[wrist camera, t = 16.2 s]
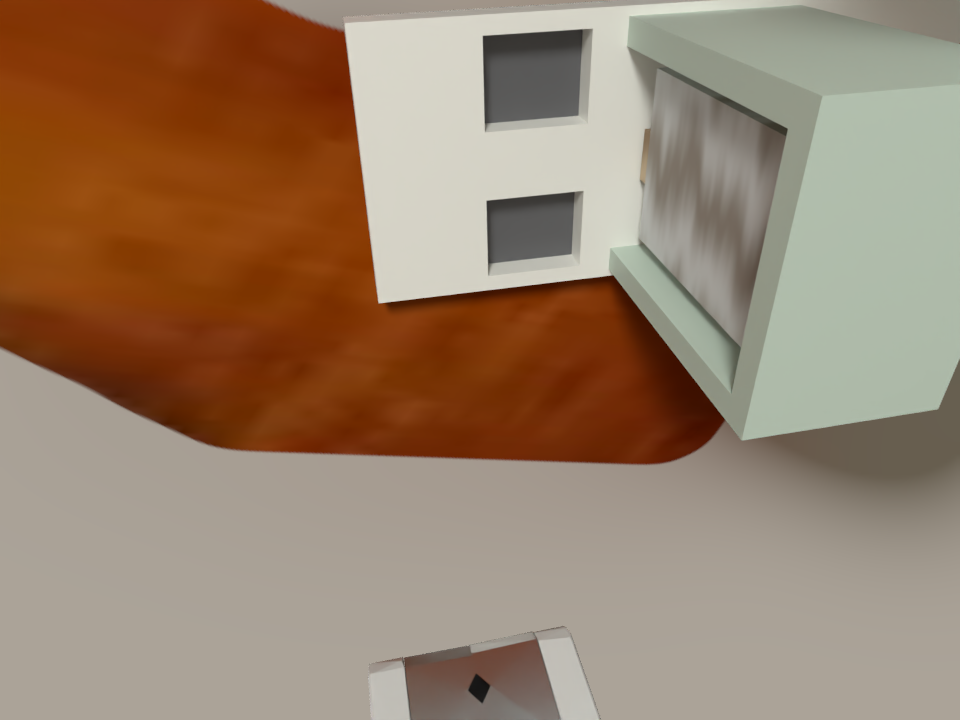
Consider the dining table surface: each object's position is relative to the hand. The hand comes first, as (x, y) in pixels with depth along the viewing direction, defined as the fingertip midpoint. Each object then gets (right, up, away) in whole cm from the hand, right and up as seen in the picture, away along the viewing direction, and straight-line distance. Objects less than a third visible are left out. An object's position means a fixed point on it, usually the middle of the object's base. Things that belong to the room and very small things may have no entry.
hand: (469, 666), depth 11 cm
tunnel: (+13, +17, +32) cm, 39 cm away
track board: (+11, +18, +33) cm, 40 cm away
